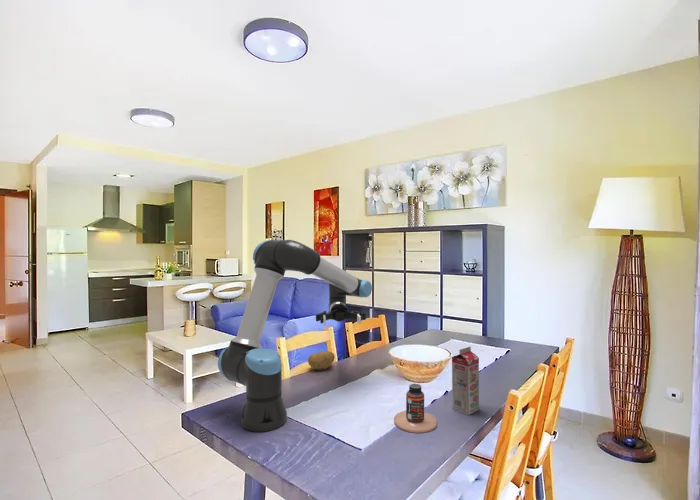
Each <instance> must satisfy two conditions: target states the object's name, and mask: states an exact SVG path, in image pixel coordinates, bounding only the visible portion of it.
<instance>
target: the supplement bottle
mask: <svg viewBox="0 0 700 500" xmlns="http://www.w3.org/2000/svg"><path fill="white" fill-rule="evenodd" d="M408 387H409V388H408V390H407V391H406V394H405V396H406V397H405V399H406V401H405V409H406V410H405V411H406V418H407V420H408V421H410V422H413V423H419V422H422V421H423V420H424V412H425V393H424V392H423V391H422V390H423V389H422V385H421V384H418V383H410V384H409V386H408Z"/></svg>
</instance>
